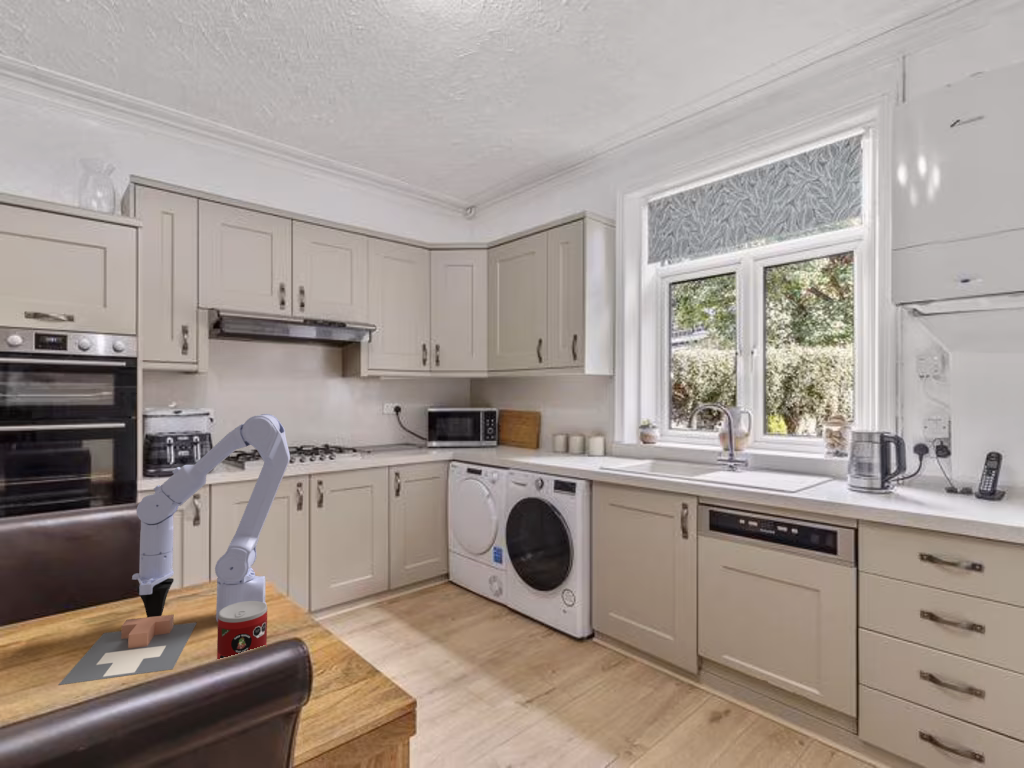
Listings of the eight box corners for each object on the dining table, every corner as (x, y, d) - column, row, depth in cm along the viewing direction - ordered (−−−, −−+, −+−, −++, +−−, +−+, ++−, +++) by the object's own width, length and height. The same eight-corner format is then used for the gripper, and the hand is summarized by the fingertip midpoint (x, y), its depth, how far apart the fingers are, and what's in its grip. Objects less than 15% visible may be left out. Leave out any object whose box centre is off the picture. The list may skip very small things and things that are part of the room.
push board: (196, 627, 111) (196, 622, 111) (172, 674, 92) (172, 669, 92) (103, 638, 106) (103, 633, 106) (57, 691, 87) (58, 684, 87)
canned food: (214, 689, 88) (215, 621, 88) (218, 666, 95) (220, 603, 96) (265, 680, 91) (267, 614, 91) (266, 658, 99) (267, 598, 99)
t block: (173, 626, 109) (173, 614, 109) (162, 644, 101) (163, 630, 101) (126, 632, 106) (126, 619, 106) (111, 650, 99) (112, 636, 99)
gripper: (144, 543, 116) (142, 607, 116) (121, 563, 103) (119, 635, 102) (182, 541, 119) (180, 603, 118) (164, 560, 105) (162, 630, 105)
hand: (154, 618), depth 111 cm, fingers closed
